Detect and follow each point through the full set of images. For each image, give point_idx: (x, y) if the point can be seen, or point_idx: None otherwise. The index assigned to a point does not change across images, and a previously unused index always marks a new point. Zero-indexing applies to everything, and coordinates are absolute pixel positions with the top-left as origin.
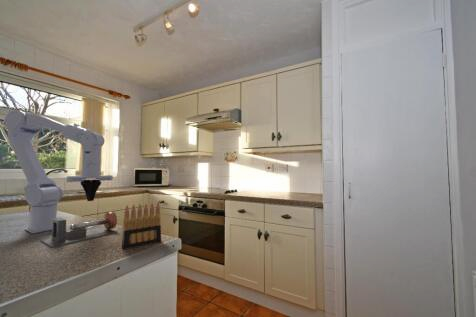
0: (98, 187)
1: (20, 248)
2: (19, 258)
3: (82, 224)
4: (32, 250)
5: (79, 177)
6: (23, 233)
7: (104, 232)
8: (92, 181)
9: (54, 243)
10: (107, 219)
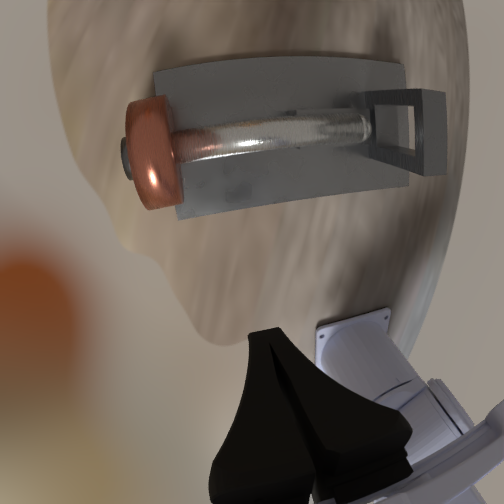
0: (232, 426)
1: None
2: (452, 51)
3: (322, 117)
4: None
5: (485, 459)
6: (395, 326)
7: (206, 94)
8: (303, 501)
9: (394, 88)
10: (177, 136)
